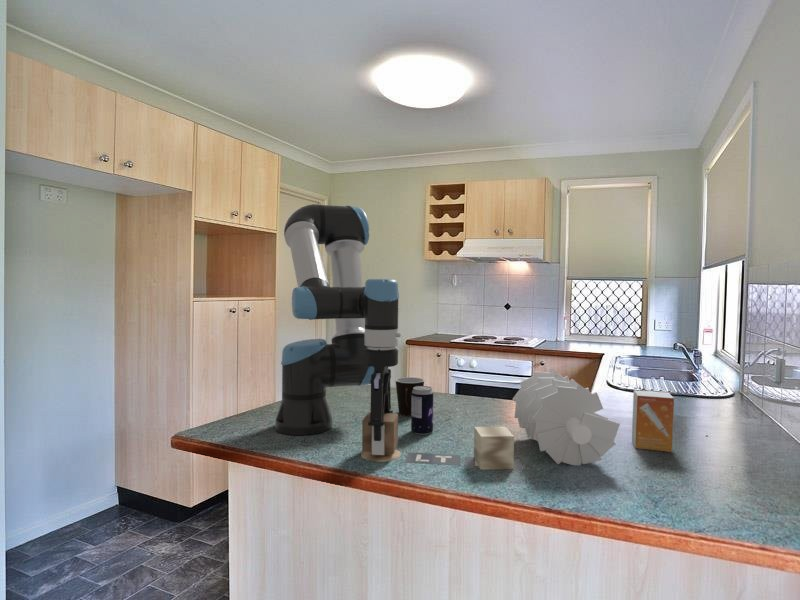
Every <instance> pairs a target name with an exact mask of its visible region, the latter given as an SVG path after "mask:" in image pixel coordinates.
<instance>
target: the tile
mask: <svg viewBox="0 0 800 600" xmlns="http://www.w3.org/2000/svg"><path fill="white" fill-rule="evenodd" d="M461 456H462V455H461V454H449V453H448V454H443V453H425V452H409V451H408V452H407V455H406V456H405V457H406V458H405V461H404V463H405V464H407V463H408V464H409V463H410V464H425V465H443V466H444V465H445V466H448V465H449V466H459V467H460V466H461V461H462V460H461Z"/></svg>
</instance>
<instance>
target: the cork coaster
mask: <svg viewBox="0 0 800 600" xmlns="http://www.w3.org/2000/svg"><path fill="white" fill-rule="evenodd" d="M401 455H402V454H401V451H400V450H398V449H397V448H396V449H395V452H394V454H390V453H384V455H372V453H370V452H362V451H361V452H360V456H361V458H362V459H364V460H367V461H370V462H375V463H377V462H378V463H380V462H381V463H382V462H391V461H394V460H398V459H399V458H400V457H401Z"/></svg>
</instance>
